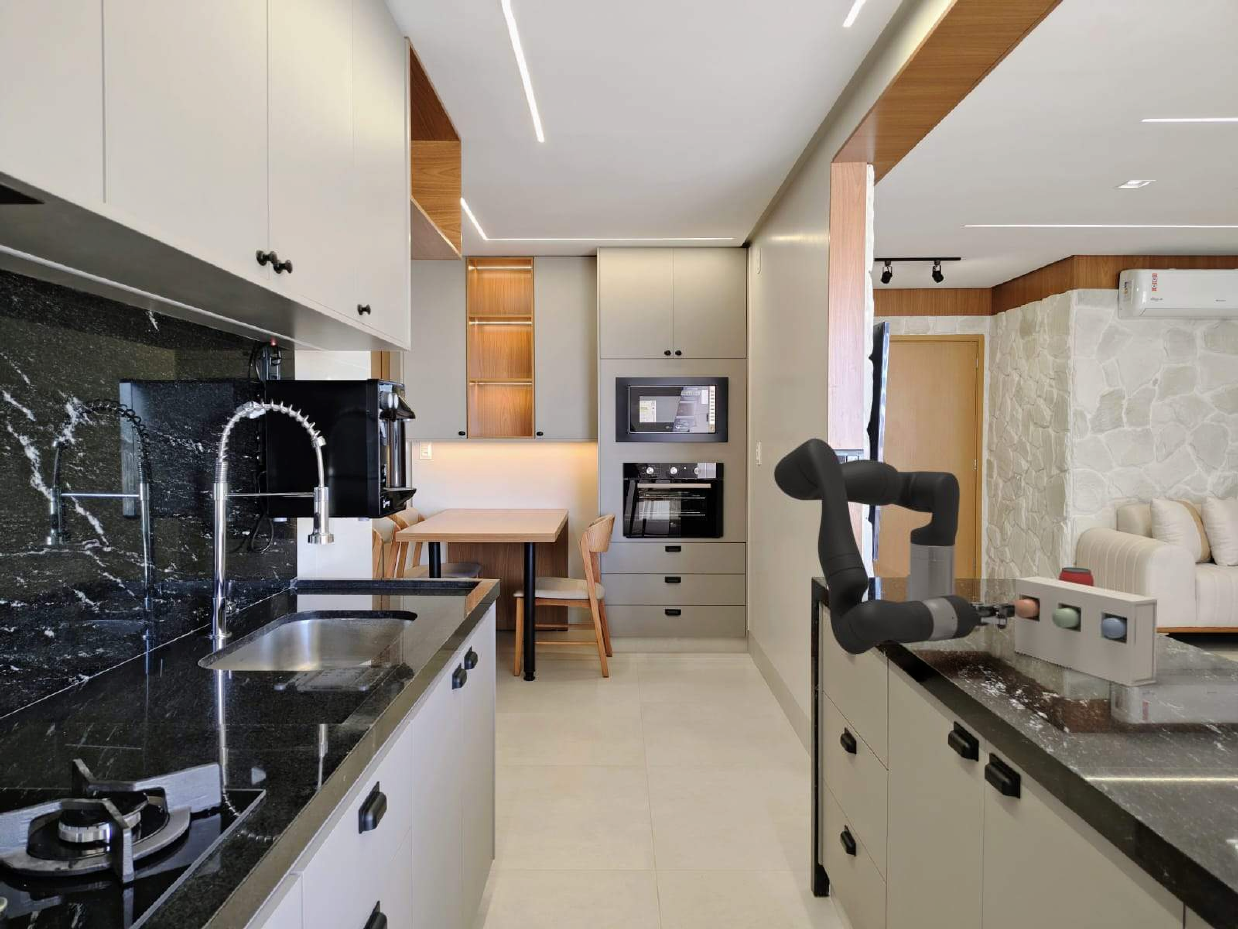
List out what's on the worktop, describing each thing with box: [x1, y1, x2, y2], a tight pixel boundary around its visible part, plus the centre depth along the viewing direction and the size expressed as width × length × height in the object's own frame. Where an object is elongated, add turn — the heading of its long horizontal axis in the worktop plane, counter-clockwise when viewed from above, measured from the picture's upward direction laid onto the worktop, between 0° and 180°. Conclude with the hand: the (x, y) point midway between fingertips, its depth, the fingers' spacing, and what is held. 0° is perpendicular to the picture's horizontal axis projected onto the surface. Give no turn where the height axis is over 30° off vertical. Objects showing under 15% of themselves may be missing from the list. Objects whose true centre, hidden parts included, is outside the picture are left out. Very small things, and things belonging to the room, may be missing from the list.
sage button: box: [1052, 608, 1081, 628], centre depth 131 cm, size 3×4×3 cm
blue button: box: [1101, 617, 1127, 638], centre depth 124 cm, size 3×4×3 cm
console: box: [1014, 575, 1158, 688], centre depth 133 cm, size 22×6×14 cm, turn 22°
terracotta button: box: [1013, 599, 1040, 618], centre depth 139 cm, size 3×4×3 cm
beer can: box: [1058, 566, 1095, 587], centre depth 164 cm, size 7×7×12 cm
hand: (1011, 609), depth 137 cm, fingers closed
